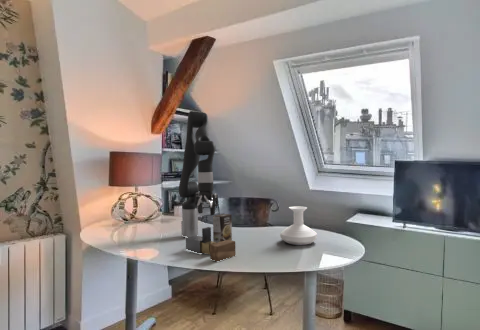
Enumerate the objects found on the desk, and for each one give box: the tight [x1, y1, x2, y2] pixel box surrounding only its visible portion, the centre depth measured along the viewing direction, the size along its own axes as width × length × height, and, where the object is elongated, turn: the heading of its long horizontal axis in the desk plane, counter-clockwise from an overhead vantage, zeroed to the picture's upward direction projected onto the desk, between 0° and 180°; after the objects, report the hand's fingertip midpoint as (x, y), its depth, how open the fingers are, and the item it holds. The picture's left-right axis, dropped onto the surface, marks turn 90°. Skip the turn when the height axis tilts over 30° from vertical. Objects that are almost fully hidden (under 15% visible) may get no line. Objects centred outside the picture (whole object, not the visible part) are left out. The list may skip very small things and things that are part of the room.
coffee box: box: [212, 213, 233, 243], centre depth 185 cm, size 9×6×16 cm
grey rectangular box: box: [185, 235, 202, 253], centre depth 172 cm, size 11×7×7 cm, turn 49°
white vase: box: [279, 205, 318, 246], centre depth 186 cm, size 20×20×19 cm
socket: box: [209, 240, 236, 262], centre depth 160 cm, size 5×12×7 cm, turn 139°
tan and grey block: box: [201, 226, 216, 256], centre depth 169 cm, size 15×5×12 cm, turn 49°
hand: (206, 214), depth 167 cm, fingers open, 8 cm apart
